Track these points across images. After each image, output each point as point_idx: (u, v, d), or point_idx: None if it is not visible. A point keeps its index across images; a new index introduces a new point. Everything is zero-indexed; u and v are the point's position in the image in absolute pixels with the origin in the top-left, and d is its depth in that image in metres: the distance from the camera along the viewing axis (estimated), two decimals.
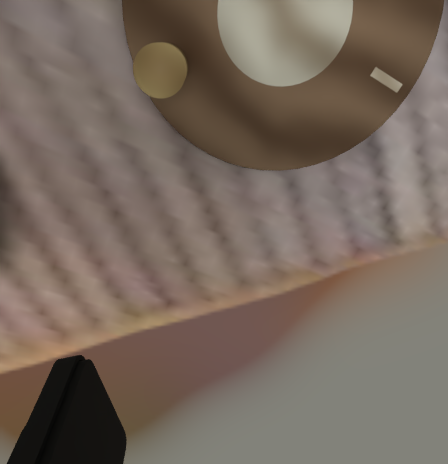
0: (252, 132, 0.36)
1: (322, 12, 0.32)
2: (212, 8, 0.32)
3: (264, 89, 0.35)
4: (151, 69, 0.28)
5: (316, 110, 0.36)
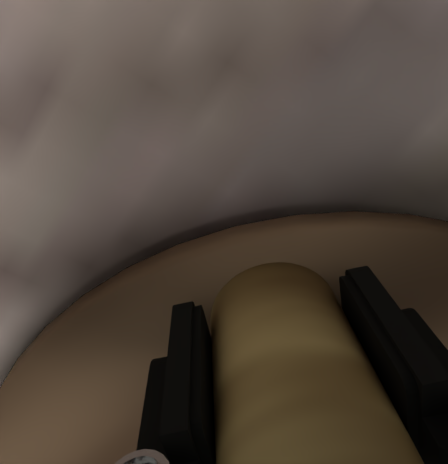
0: None
1: None
2: None
3: None
4: None
5: None
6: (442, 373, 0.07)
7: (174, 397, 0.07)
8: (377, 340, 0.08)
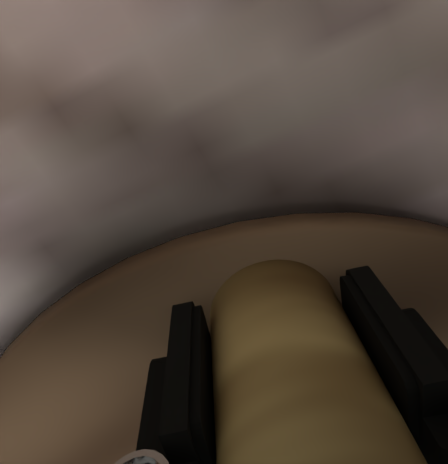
0: None
1: None
2: None
3: None
4: None
5: None
6: (443, 373, 0.07)
7: (174, 397, 0.07)
8: (378, 340, 0.08)
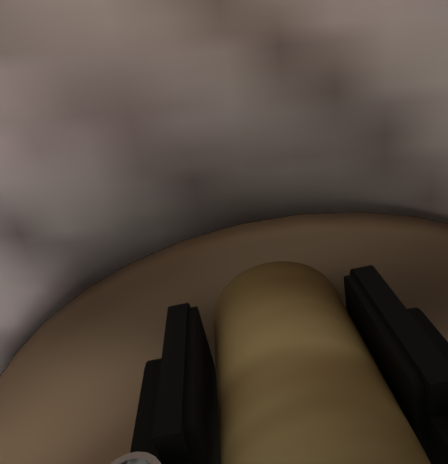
0: None
1: None
2: None
3: None
4: None
5: None
6: None
7: (168, 399, 0.07)
8: (383, 340, 0.08)
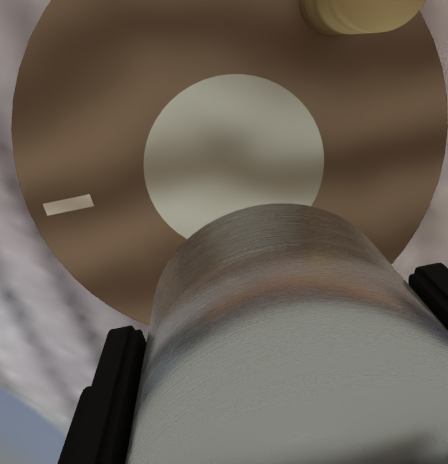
0: (155, 6, 0.21)
1: (199, 202, 0.25)
2: (317, 111, 0.23)
3: (190, 77, 0.22)
4: None
5: (105, 109, 0.23)
6: None
7: (87, 436, 0.07)
8: None
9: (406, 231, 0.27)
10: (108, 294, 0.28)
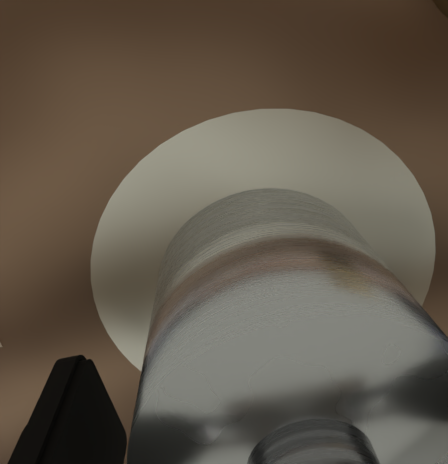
0: None
1: None
2: (433, 180, 0.12)
3: (179, 116, 0.11)
4: None
5: (5, 179, 0.11)
6: None
7: None
8: None
9: None
10: None
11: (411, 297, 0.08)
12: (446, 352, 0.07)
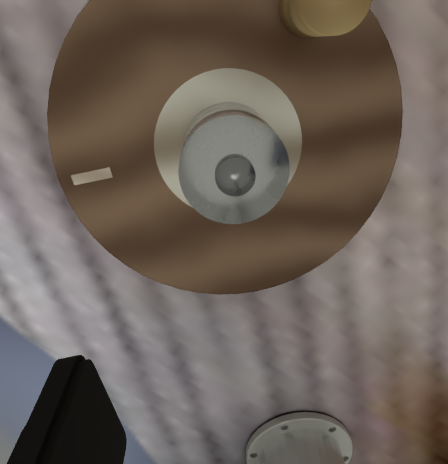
0: (164, 14, 0.26)
1: None
2: (295, 99, 0.29)
3: (192, 71, 0.27)
4: None
5: (123, 96, 0.28)
6: None
7: None
8: None
9: (372, 200, 0.32)
10: (123, 253, 0.33)
11: (267, 124, 0.25)
12: (269, 129, 0.23)
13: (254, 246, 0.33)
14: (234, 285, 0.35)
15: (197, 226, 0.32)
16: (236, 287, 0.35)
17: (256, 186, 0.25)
